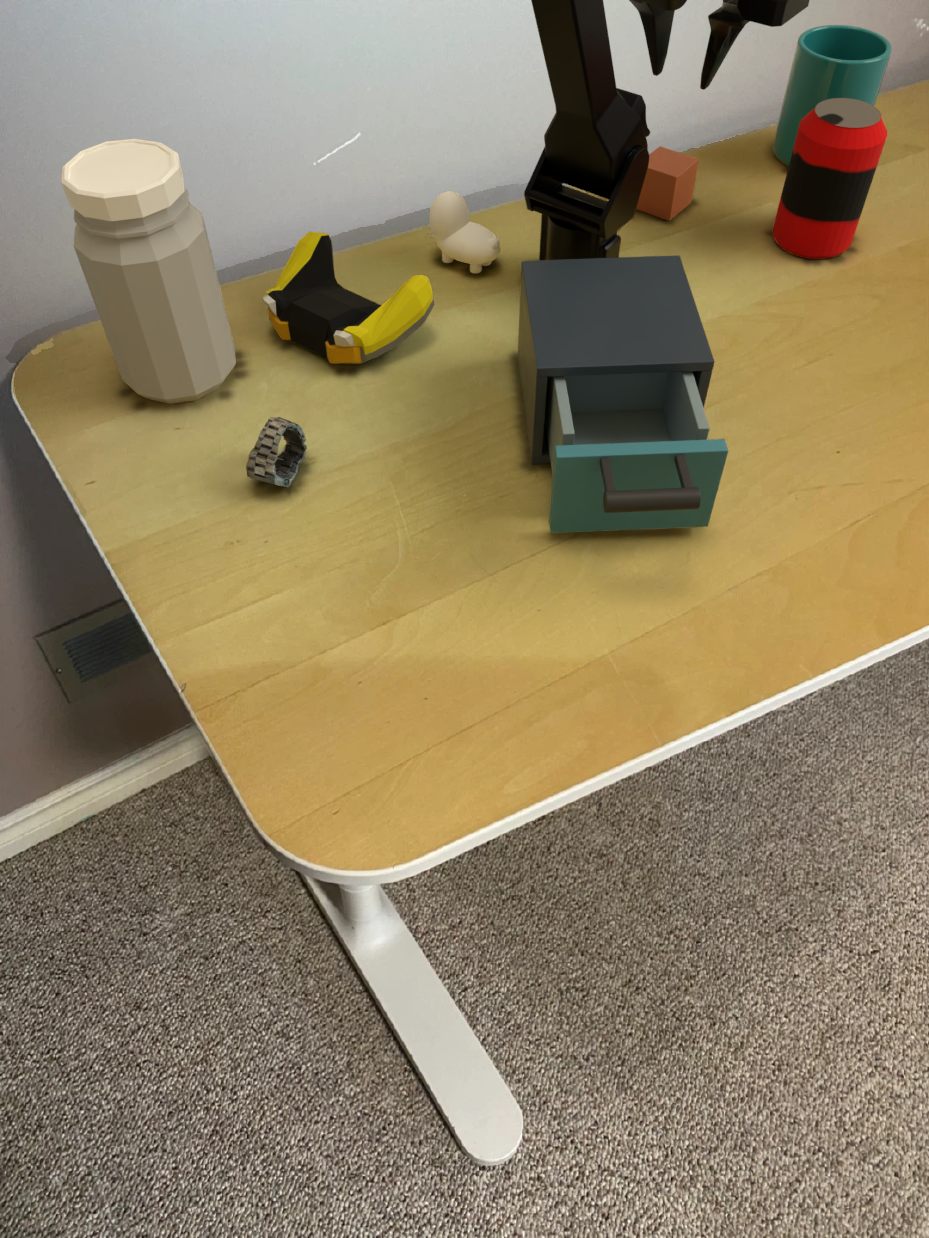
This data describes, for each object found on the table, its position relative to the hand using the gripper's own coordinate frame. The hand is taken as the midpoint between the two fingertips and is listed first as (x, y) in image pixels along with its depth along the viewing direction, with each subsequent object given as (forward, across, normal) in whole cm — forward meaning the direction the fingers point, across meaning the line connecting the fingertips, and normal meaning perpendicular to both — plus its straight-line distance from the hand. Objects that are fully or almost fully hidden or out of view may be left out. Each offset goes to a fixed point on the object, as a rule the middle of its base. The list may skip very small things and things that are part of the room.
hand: (680, 81), depth 89 cm
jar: (+12, -19, -48) cm, 53 cm away
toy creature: (+12, -10, -20) cm, 25 cm away
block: (+12, 0, 0) cm, 12 cm away
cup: (+12, +8, +20) cm, 25 cm away
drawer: (+11, +19, -39) cm, 44 cm away
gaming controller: (+12, -12, -35) cm, 39 cm away
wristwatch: (+12, -3, -52) cm, 53 cm away
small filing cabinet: (+12, +12, -30) cm, 35 cm away
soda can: (+12, +15, +3) cm, 20 cm away
